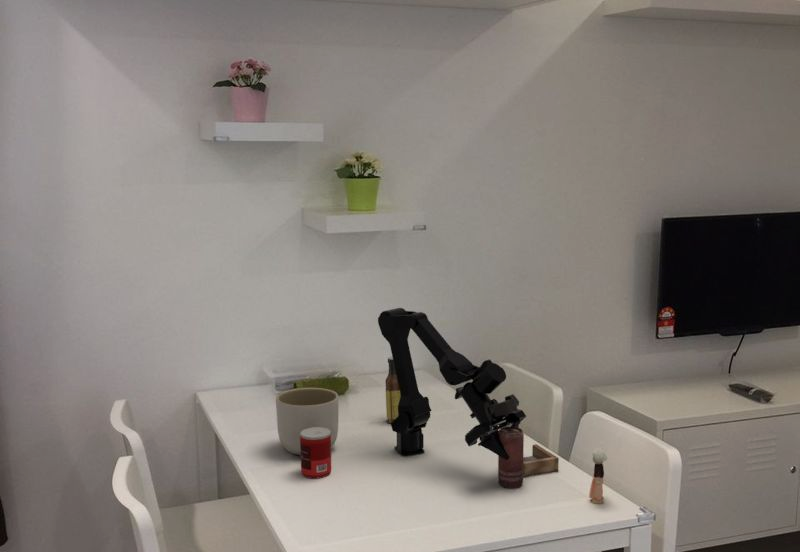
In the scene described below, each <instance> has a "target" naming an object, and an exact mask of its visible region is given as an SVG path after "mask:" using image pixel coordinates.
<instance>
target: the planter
mask: <svg viewBox="0 0 800 552" xmlns="http://www.w3.org/2000/svg"><path fill="white" fill-rule="evenodd" d="M339 400H340V398H339V393H337V392H336V391H334V390H333V389H330V388H329V389H327V388H323V387H321V388H320V387H300V388H299V387H298V388H292V389H288V390H285V391H283V392H280V393H279V394H278V395H276V397H275V410H276V423H277V424H276V427H277V435H278V440H279V441H280V444H281V446H282V447H284V449H286V450H287V451H288V452H289V453H291V454H293V455H296V454H297V455H298V456H301V451H300V432H301V431H303V430H305V429H308V428H313V427H322V428H327V429H329V430H330V433H331V448H332V447H333V446H334V444H335V443H336V441H337V438H338V434H339V433H338V432H339V412H340V411H339V410H340V409H339V408H340V405H339V402H340V401H339ZM297 455H296V456H297Z"/></svg>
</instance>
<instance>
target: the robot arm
mask: <svg viewBox="0 0 800 552" xmlns="http://www.w3.org/2000/svg"><path fill="white" fill-rule="evenodd" d="M377 323H378V327H379V330H380V332H381V335H382V336H383V338H384V339H385V340H386V341H387V342H388V344H389V347H390V352H391V357H393V361H394V366H395V371H396V375H397V380H398V385H399V389H400V394H401V397H400V400H399V404H398V415H399V416H398V417H397V418H396V419H395V420H394V421H393V422H392V423H390V427H391V429H392V431H393V432H395V433H396V446H394V448H393V449H395V451H397V453H399V454H400V455H401V456H404V457H406V456H411V455H417V454H423V453H425V450H424V447H425V446H424V442H425V441H424V439H425V438H424V434H423V429H424V428H426V427H427V424H428V422H429V419H430V418H431V412H432V409H431V406H430V401H429V400H430V399H429V398H428V396H424V395H422V393H421V392H420V391H419V387H418V382H417V377H416V373H415V368H414V363H413V359H412V354H411V350H410V349H411V348H410V345H409V336H410V333H411V330H412V331H413V332H414V333H415V335H416V336H417V338H418V339H419V340H420V341H421V342H422V344H423V345H424V346H425V347H426V349H427V350H428V351H429V352H430V354H431V356H433V357H434V359H435V360H436V361H437V363H438V367H439V372H440V374H441V376H442V378H444V380H445V382H446V383H447V384H448V385H449V386H458V385H460V384H464V383H465V384H464V385H463V386H460V387H456V388H455V393H454V399H455V400H459V399H461V398H462V399H463V401H464V403H466V405H467V407H468V409H470V411H471V413H470V415H469V416H470V418H471V419H474V418H475V419H476V421H477V422H478V424H477V425H475V426H473V427H472V428H471V429H470V430H469V431H468V432H467V433H466V434H465V435H464V441H465V442H466V444H467V446H468V447H472V446H474V445H476V444H477V443H478V440H479V443H478V444H477V445H478V446H479V447H483V448H485V449H486V450H489V451H490V452H492V453H494V454H496V455H497V456H498V455H499V456H500V457H502V458H503V459H505V460H508V459H509V458H510V457H509V456H508V454H507V453H506V451H505V449H504V447H503V445H502V443H501V441H500V440H499V435H498V431H499V430H500V429H501V428H504V427H517V428H520V427H519V426H520V425H521V422H522V421H523V420H525V419H526V418H527V415H526V414H525V412H524V410H523V409H519V408H518V407H519V405H520V401H519V399H518V398H517V397H516V395H514V393H513V394H509V395H507V396H505V397H504V400H503V401H501V402H498V400H497V399H495V398H493V399H491V397H490V396H489V395H490V394H492V393H493V392H495V391H496V389H497V388H499V387H500V385H502V384H503V383H504V382H505V381H506V379H507V374H506V371H505V369H504V368H503V367H501V365H499V364H497V363H496V362H493V361H492V360H491V359H486V360H484V361H482V363H481V365H480V366H478V365H475V364H473V362H472V361H470V360H469V359H468V358H467V357H466V356H465V355H464V354H461V353H460V352H457V351H456V350H454V349H453V348H452V346H450V344H449V343H448V342H447V340H445V338H444V337H443V336H442V334H441V333H440V332H439V331H438V330H437V328H436V327H435V326H434V325H433V324H432V322H431V321H430V320H429V319H428V316H427V314H426V313H424V312H422V311H419V312H417V311H413V310H411V311H410V310H406V309H404V308H402V307H397V308H392V309H388V310H383V311H381V313H379V316H378V317H377ZM471 380H472V381H471Z"/></svg>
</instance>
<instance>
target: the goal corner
mask: <svg viewBox="0 0 800 552" xmlns="http://www.w3.org/2000/svg"><path fill="white" fill-rule="evenodd" d="M531 448H532V451H531V452H532V455H531V456H525V457H524V456H523V478H527V477H533V476H537V475H544V474H548V473H549V474H550V473H553V472H554V473H555V472H559V464H560V463H559V460H560V459H559V457H558V456H557V455H554V454H553V453H551V452H550V451H548V450H546V449H545V448H543V447H542V446H540V445H539V444H537V443H535V444H532V447H531Z"/></svg>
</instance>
